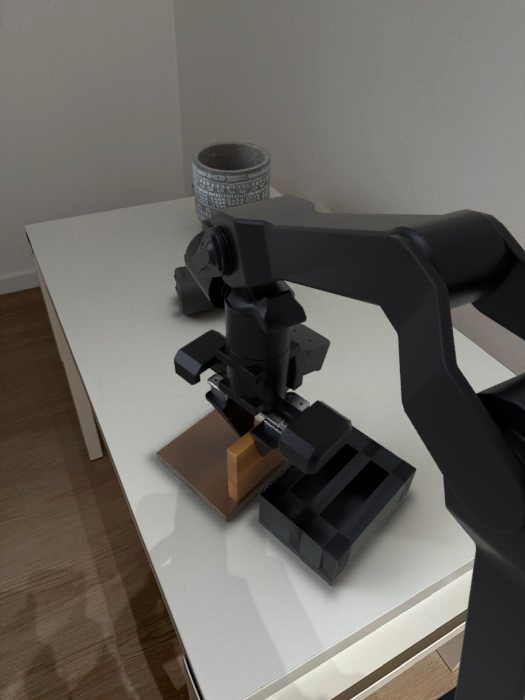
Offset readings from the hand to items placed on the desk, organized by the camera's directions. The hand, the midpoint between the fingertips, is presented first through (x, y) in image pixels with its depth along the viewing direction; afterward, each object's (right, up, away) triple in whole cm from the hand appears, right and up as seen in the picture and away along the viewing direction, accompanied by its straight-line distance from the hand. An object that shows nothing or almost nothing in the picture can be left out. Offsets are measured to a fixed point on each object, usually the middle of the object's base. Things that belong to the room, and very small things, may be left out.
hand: (256, 446), depth 55 cm
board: (-4, -3, +7) cm, 8 cm away
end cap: (-8, +17, +29) cm, 34 cm away
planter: (-5, +34, +47) cm, 58 cm away
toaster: (+9, -7, +2) cm, 11 cm away
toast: (0, -4, +3) cm, 5 cm away
